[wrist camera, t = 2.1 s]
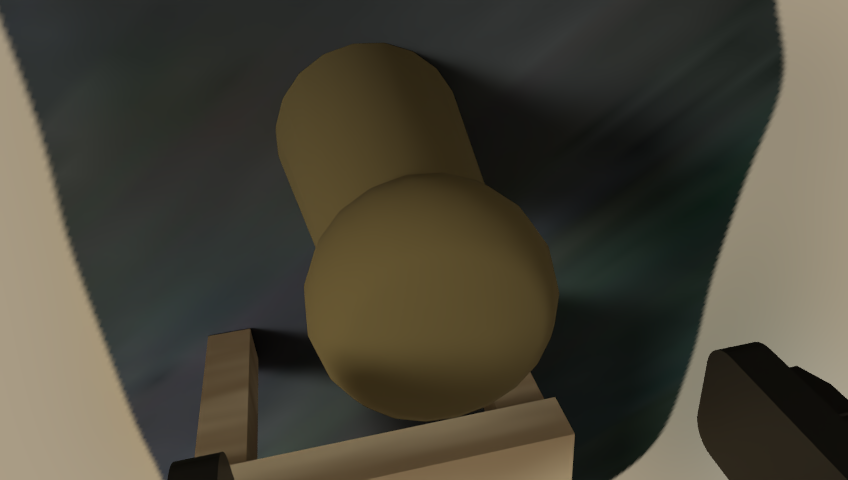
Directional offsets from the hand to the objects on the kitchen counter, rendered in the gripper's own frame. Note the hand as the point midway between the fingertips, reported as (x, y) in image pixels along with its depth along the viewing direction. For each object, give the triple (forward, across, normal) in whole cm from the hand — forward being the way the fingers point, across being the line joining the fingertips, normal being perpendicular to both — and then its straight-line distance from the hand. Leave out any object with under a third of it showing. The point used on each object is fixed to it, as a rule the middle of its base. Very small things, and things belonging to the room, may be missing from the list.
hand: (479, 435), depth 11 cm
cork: (+13, 0, 0) cm, 13 cm away
